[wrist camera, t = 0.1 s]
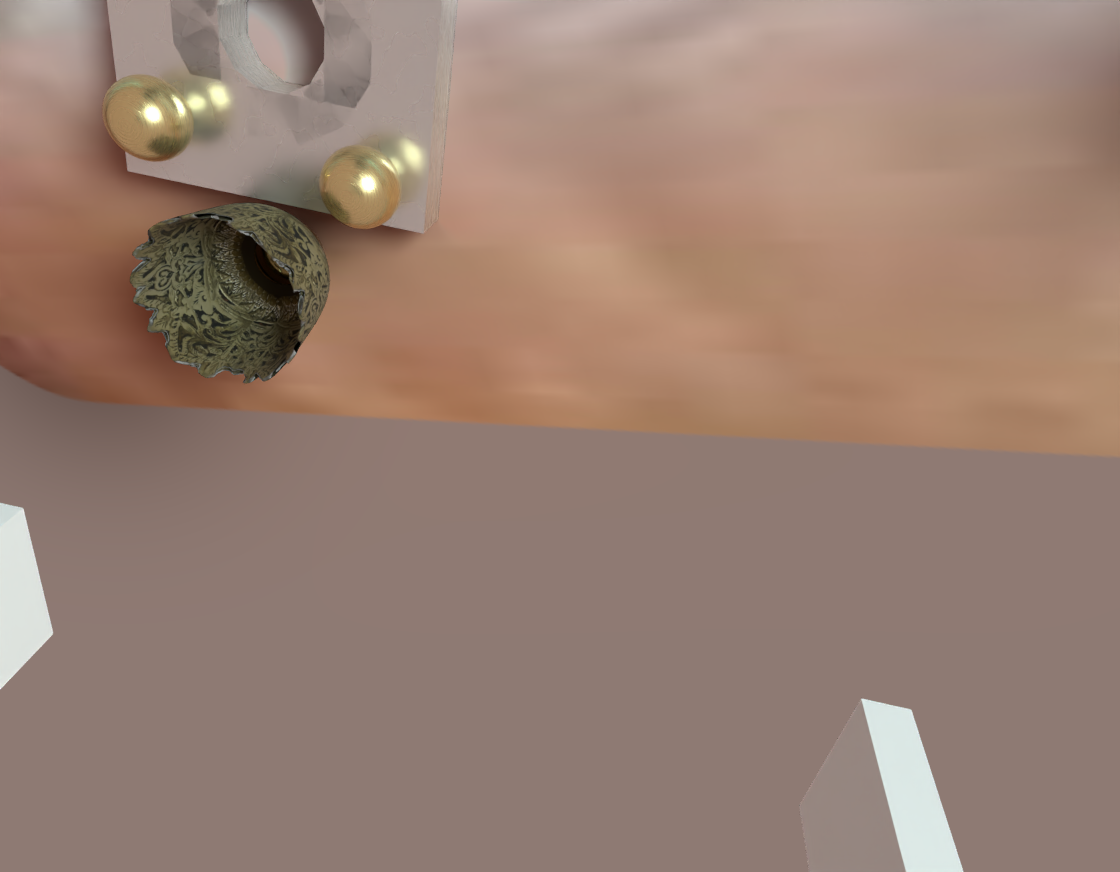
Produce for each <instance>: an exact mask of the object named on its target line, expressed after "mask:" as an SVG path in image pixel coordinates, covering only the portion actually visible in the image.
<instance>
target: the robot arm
mask: <svg viewBox="0 0 1120 872" xmlns="http://www.w3.org/2000/svg"><path fill="white" fill-rule="evenodd" d="M52 634H53V630H52V626H51V622H50V618H49V614H48V609H47V605H46V601H45V597H44V593H43V589H42V585H41V581H40V577H39V572H38V568H37V564H36V560H35V555H34V551H33V547H32V543H31V539H30V535H29V531H28V527H27V522H26V518H25V514H24V510H23V508H19V507H15V506H11V505H6V504H2V503H0V689H1V688H2V687H3V686H4V685H5V684H6V683H7V682H8V681H9V680H10V678H12V676H13V675H14V674H15V673H16V672H17V671H18V670H19V669H20V668H21V667H22V666H23V665H24V664H25V663H26V662H27V661H28V660H29V659H30V657H32V655H33V654H34V653H35V652H36V651H37V650H38V649H39V648H40V647H41V646H42V645H43V644H44V643H45V642H46V641H47V640H48V639H49V638H50V636H51V635H52ZM799 806H800V812H801V819H802V826H803V833H804V840H805V846H806V853H807V860H808V866H809V872H963V869H962V866H961V863H960V860H959V857H958V854H957V850H956V847H955V844H954V841H953V838H952V835H951V832H950V829H949V826H948V823H947V819H946V817H945V813H944V810H943V807H942V804H941V801H940V798H939V795H938V792H937V788H936V785H935V782H934V779H933V776H932V773H931V770H930V767H929V764H928V761H927V757H926V755H925V751H924V748H923V745H922V742H921V739H920V736H919V733H918V729H917V726H916V723H915V720H914V717H913V714H912V711H911V710H910V709H906V708H901V707H897V706H892V705H888V704H883V703H879V702H874V701H870V700H866V699H861V700H860V701H859V703H858V705H857V706H856V708H855V710H854V712H853V714H852V715H851V717H850V719H849V721H848V722H847V724H846V725H845V727H844V729H843V731H842V732H841V734H840V736H839V738H838V740H837V741H836V743H835V745H834V746H833V748H832V750H831V751H830V753H829V755H828V757H827V758H826V760H825V762H824V763H823V765H822V767H821V769H820V770H819V772H818V774H817V775H816V777H815V779H814V781H813V782H812V784H811V786H810V788H809V789H808V791H807V793H806V794H805V796H804V798H803V800H802V801H801V803H800V805H799Z"/></svg>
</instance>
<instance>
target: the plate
mask: <svg viewBox="0 0 1120 872" xmlns="http://www.w3.org/2000/svg"><path fill="white" fill-rule="evenodd" d="M247 1H248V0H107V7H108V15H109V23H110V31H111V39H112V48H113V56H114V64H115V72H116V80H117V81H118V80H119V79H121V78H123V77H126V76H129V75H134V74H145V75H151V76H155V77H158V78H160V79H162V80H164V81H166V82H168V83H169V84H171V85H172V86H174V87H175V88H176V89H177V90H178V91H179V92H180V93H181V94H182V95H183V97H184V98H185V99H186V101H187V103H188V104H189V107H190V109H191V112H192V115H193V120H194V132H193V136H192V139H191V142H190V144H189V145H188V147H187V148H186V149H185V150H184V151H183V152H182V153H181V154H180V155H178V156H177V157H175V158H173V159H170V160H167V161H161V162H152V161H146V160H142V159H139V158H136V157H134V156H132V155H130V154H128V153H127V152H125V154H126V162H127V170H128V171H129V172H134V173H139V174H144V175H148V176H153V177H158V178H162V179H167V180H172V181H177V182H181V183H186V184H191V185H196V186H200V187H205V188H210V189H215V190H219V191H224V192H229V193H233V194H238V195H243V196H248V197H252V198H257V199H262V200H267V201H271V202H276V203H281V204H286V205H290V206H295V207H300V208H304V209H309V210H314V211H319V212H323V213H328V214H331V213H330V212H329V211H328V209H327V208H326V206H325V204H324V202H323V200H322V197H321V194H320V189H319V178H320V174H321V170H322V167H323V165H324V163H325V162H326V160H327V159H328V158H329V157H330V156H331V155H332V154H333V153H334V152H336V151H337V150H339V149H341V148H343V147H346V146H349V145H365V146H369V147H372V148H375V149H377V150H378V151H380V152H382V153H383V154H385V155H386V156H387V157H388V158H389V159H390V160H391V161H392V163H393V164H394V166H395V167H396V169H397V171H398V173H399V176H400V179H401V185H402V196H401V201H400V204H399V206H398V209H397V210H396V212H395V213H394V215H393V216H392V217H391V218H390V219H389V220H388V221H387V222H385V223H383V224H382V225H385V226H390V227H394V228H399V229H404V230H409V231H413V232H418V233H423V234H424V233H425V232H426V231H427V230H428V229H429V228H430V227H431V226H432V225H433V224H434V223H435V222H436V221H437V220H438V215H439V204H440V193H441V181H442V170H443V159H444V147H445V136H446V124H447V113H448V102H449V90H450V79H451V68H452V56H453V45H454V34H455V22H456V11H457V0H312V1H313V3H314V6H315V8H316V10H317V12H318V15H319V17H320V19H321V21H322V23H323V26H324V61H323V62H322V64H321V66H320V67H319V69H318V71H317V73H316V74H315V76H314V78H313V79H312V81H311V83H310V84H309V85H306V86H302V85H297V84H292V83H287V82H284V81H282V80H281V79H280V78H279V77H278V76H277V75H275V74H274V73H273V72H272V71H271V70H269V69H268V68H267V67H266V66H265V65H263V64H262V63H261V61H260V59H259V57H258V55H257V53H256V51H255V49H254V47H253V45H252V43H251V41H250V39H249V37H248V35H247V11H246V3H247Z"/></svg>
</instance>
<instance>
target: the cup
mask: <svg viewBox="0 0 1120 872" xmlns="http://www.w3.org/2000/svg"><path fill="white" fill-rule="evenodd" d="M148 235H149V239H148V241H147V242H146V243H144V244H141V245H140V246H138V247H137V248H136V249H135V250H134V252H133V254H132V255H133V256H135V258H136V259H139V260H141V259H142V260H144V261H142V262H141V263H140V264H139V265H138V266H137V267H136V268H135V269H134V270H133V271H132V273H131V276H130V283H131V284H132V286H133V287H135V288H136V289H137V290H136V292H137V293H136V295H135V296H134V298H133V302H134V303H135V304H137V305H139V306H142V307H145V309H146V310H154V313H153V314H152V317H151V318H150V319H149V325H148V328H147V331H148V332H162V333H163V334H164V336H165V339H166V343H165V346H166V348H167V350H168V352H169V354H170V356H171V359H172V360H173V361H175V362H177V363H180V364H185V365H190V366H192V367H197V369H198V373H199V374H200V375H202V376H203V377H205V378H211V377H214V376H216V374H218V373H220V372H222V371H224V370H226V371H230V372H231V373H232V374H233V375H238V374H244V376H245V377H246V378H245V380H244V381H243V383H250V382H252V381H254V380H255V379H256V378H258V377H260V379H261V380H262V381H267V380H269V379H271V378H272V377H273V376H275V375H276V374H277V373H278V371H279V370H280V369H281V368H282V367H283V366H284V365H285V364H286V363H289V362H290V361H291V360H292V359H293V358H294V356H295V355H296V353H297V351H298V349H299V347H300V346H301V344H302V343H303V341H304V340H305V339H306V337H307V336H308V334H309V333H310V331H311V330H312V328H313V327H314V325H315V324H316V322H317V320H318V318H319V317H320V315H321V313H322V311H323V308H324V306H325V303H326V300H327V297H328V293H329V285H330V276H329V267H328V263H327V259H326V256H325V253H324V251H323V247H322V245H321V242H320V240H319V238H318V237H317V235H316V234H315V233H314V232H313V230H312V229H310V228H309V227H308V226H307V225H305V224H304V223H302V222H301V221H299V220H298V219H297V218H295V217H294V216H292V215H291V214H289V213H287V212H285V211H283V210H280V209H278V208H275V207H273V206H269V205H265V204H259V203H236V204H228V205H223V206H218V207H214V208H210V209H206V210H202V211H198V212H194V213H190V214H186V215H182V216H178V217H175V218H172V219H168V220H165V221H162V222H160V223H158V224H156V225H154V226H152V227H151V228H150V229H149V230H148ZM145 258H146V259H145Z"/></svg>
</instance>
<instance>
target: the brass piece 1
mask: <svg viewBox="0 0 1120 872" xmlns="http://www.w3.org/2000/svg"><path fill="white" fill-rule="evenodd" d="M102 114H103V121H104V124H105V127H106V129H107V131H108V133H109V135H110V136H111V138H112V139H113V140H114V141H115V143H116V144H117V145H118V146H119V147H120V148H122V149H123V150H124V151H125V152H127V153H128V154H130V155H132V156H134V157H136V158H139V159H142V160H146V161H152V162H161V161H167V160H170V159H173V158H175V157H177V156H178V155H180V154H181V153H182V152H183V151H184V150H185V149H186V148H187V147H188V145H189V144H190V142H191V139H192V136H193V132H194V120H193V115H192V112H191V109H190V107H189V104H188V103H187V101H186V99H185V98H184V97H183V95H182V94H181V93H180V92H179V91H178V90H177V89H176V88H175V87H174V86H172V85H171V84H169V83H168V82H166V81H164V80H162V79H160V78H158V77H155V76H151V75H145V74H134V75H129V76H126V77H123V78H121V79H119V80H118V81H116V82H115V83H114V84H113V85H112V86H111V87H110V88H109V89H108V91H107V93H106V95H105V97H104V100H103V105H102Z"/></svg>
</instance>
